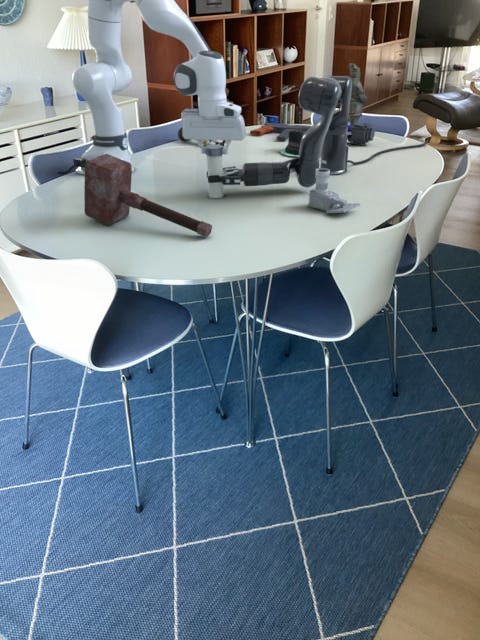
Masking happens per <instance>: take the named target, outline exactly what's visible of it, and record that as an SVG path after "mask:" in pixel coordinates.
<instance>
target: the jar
mask: <svg viewBox="0 0 480 640" xmlns="http://www.w3.org/2000/svg"><path fill="white" fill-rule="evenodd" d="M206 164H207V165H206V168H207V171H208V176H213V175H219V177H220V175H223V173H224V172H223V168H224V167H223V166H224V164H223V154H222V155H219V156H208V155H206ZM207 185H208V186H207V188H208V197H209V198H211V199H220V198H224V195H225V194H224V193H225V192H224V185H222V183H220V182H218V183H209V182H208V181H207Z"/></svg>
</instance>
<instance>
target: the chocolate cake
mask: <svg viewBox="0 0 480 640" xmlns="http://www.w3.org/2000/svg"><path fill="white" fill-rule="evenodd" d="M308 129H309V128H298V129H294V130H291V131H289V137H288V139H287V140H288V141H287V142H288V143H287V145H286V146H285V147H283V148H281V149H280V150H279V153H280V154H282V155H285V156H289V157H296V158H297V157H299V150H300V144H301V139H302V137H303V135H304V134H305V132H306V131H307V130H308ZM320 157H321V155H320Z"/></svg>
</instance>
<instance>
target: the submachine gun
mask: <svg viewBox="0 0 480 640" xmlns="http://www.w3.org/2000/svg"><path fill="white" fill-rule="evenodd" d="M312 126H313V125H304V124H303V125H302V124H291V123H278V122H264V124H262V125H261V126H260V127H259V128H256V129H252V130H250V131H249V134H250V135H251V136H257V137H258V136H261V135H265V134H268V133H278V135H277V136H276V141H287V140H288V139H289V131H291V130H294V129H298V128H311V127H312Z"/></svg>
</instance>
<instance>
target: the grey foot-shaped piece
mask: <svg viewBox="0 0 480 640" xmlns="http://www.w3.org/2000/svg"><path fill="white" fill-rule="evenodd" d="M330 175H331V174H330V170H329V169H327V168H320V167H319V168H318V169H316V173H315V178H316V183H315V188H313V189H311V190H309V192H308V193H309V194H308V195H309V196H308V207H310V208H313V209H317V210H319V211H320V210H321V211H324V212H325V214H344V213H345V214H346V213H347V212H349V211H351V210H353V209H355V208H357V207H360V206H361V203H359V202H357V203H348V200H347V199H344V198H341V197H339V194H338V193H337V192H334V191H330V190H328V187H329V180H330Z"/></svg>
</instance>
